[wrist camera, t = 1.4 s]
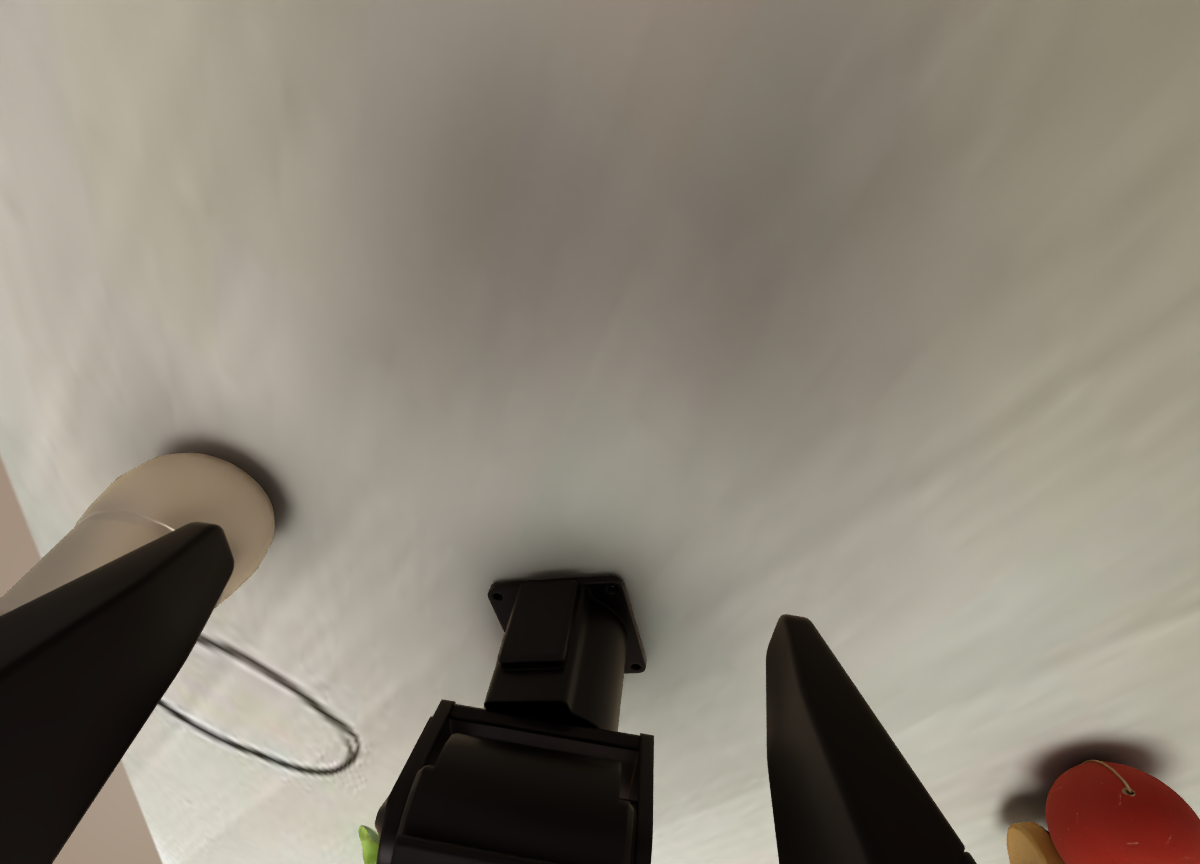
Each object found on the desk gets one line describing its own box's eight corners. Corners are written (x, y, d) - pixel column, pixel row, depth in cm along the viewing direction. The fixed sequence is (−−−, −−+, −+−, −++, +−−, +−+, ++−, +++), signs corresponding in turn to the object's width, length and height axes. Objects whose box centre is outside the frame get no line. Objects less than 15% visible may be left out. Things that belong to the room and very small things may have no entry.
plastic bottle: (322, 529, 29) (-184, 1221, 12) (215, 554, 31) (-343, 1175, 14) (233, 417, 25) (-609, 1142, 9) (120, 452, 28) (-736, 1098, 11)
